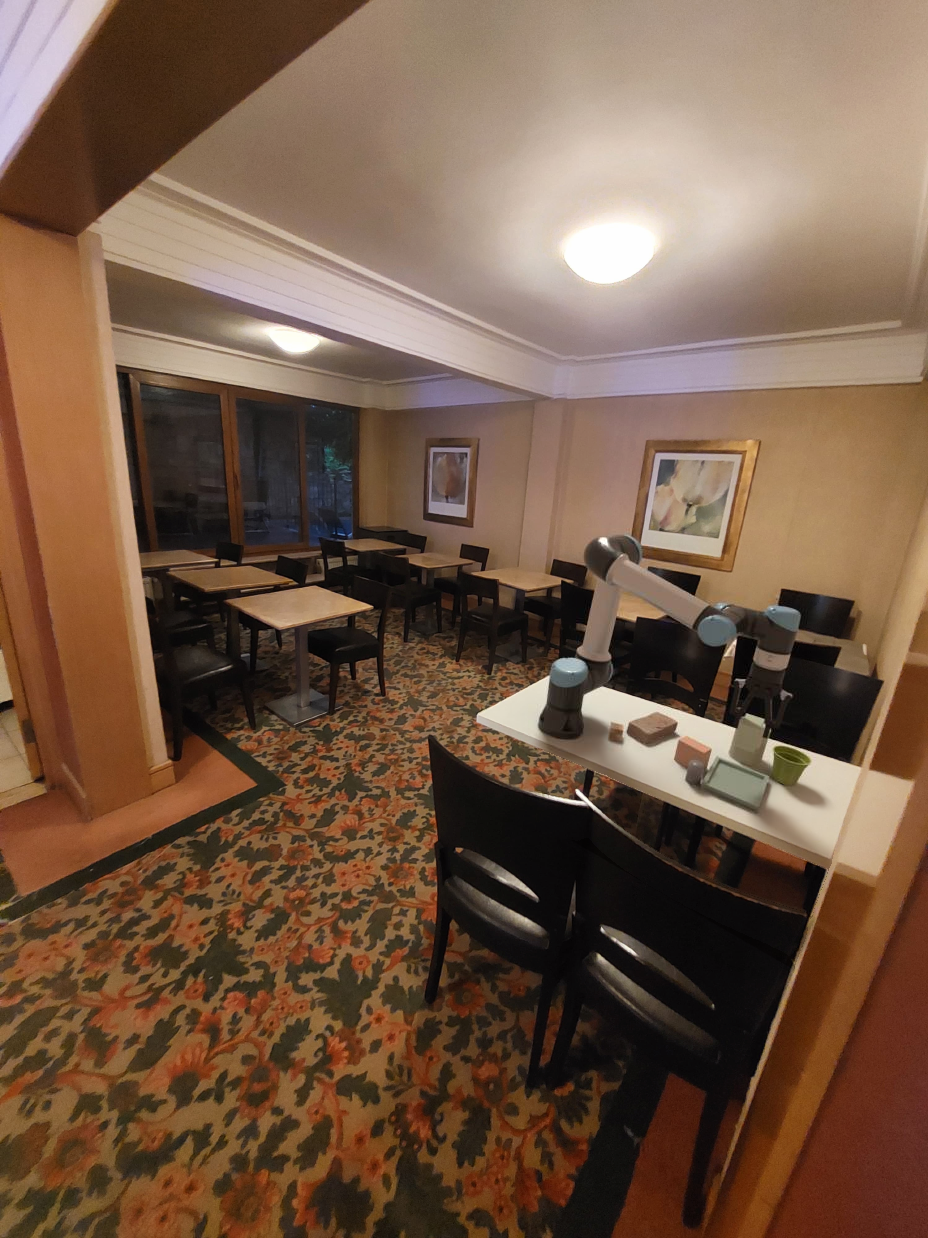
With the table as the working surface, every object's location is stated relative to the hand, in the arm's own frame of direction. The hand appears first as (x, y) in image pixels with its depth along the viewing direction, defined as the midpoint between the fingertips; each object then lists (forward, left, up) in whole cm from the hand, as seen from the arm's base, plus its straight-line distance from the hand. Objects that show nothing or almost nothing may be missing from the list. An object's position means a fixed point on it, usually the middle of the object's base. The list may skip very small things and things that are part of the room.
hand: (747, 742), depth 128 cm
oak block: (-36, 0, -14) cm, 38 cm away
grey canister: (-10, -7, -14) cm, 19 cm away
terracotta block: (-13, +2, -14) cm, 19 cm away
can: (-1, +19, -14) cm, 24 cm away
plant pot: (+10, +14, -14) cm, 23 cm away
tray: (0, 0, -14) cm, 14 cm away
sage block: (0, 0, 0) cm, 0 cm away
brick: (-28, +12, -15) cm, 34 cm away
